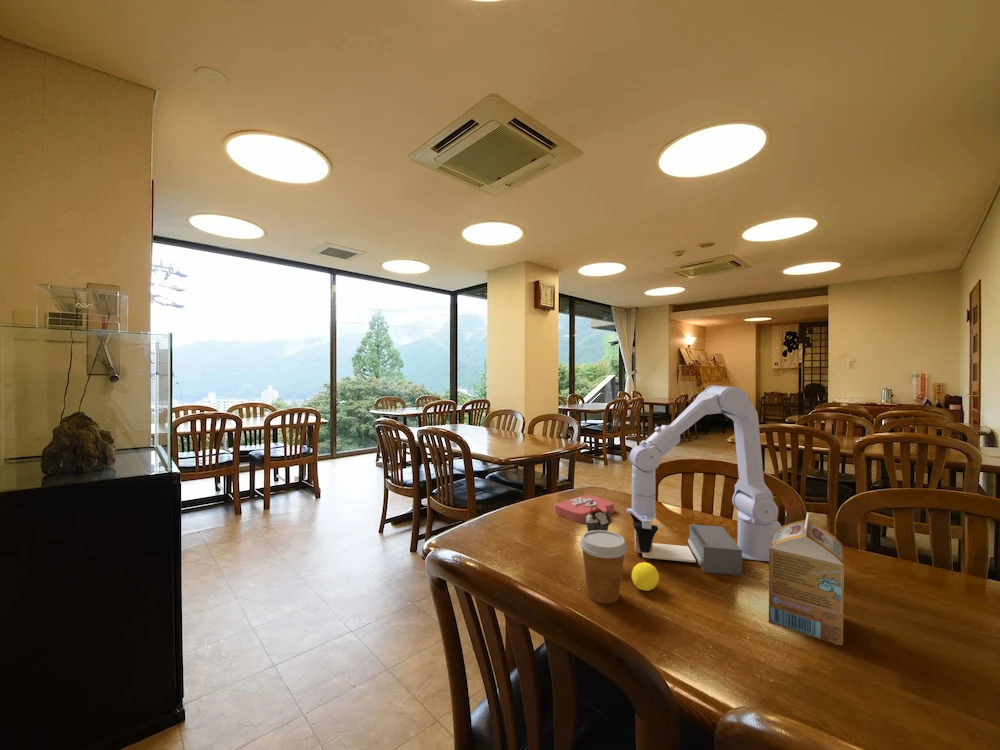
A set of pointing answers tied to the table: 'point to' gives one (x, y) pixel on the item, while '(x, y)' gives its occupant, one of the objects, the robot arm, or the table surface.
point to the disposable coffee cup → (603, 564)
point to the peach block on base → (666, 552)
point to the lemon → (645, 576)
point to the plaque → (582, 507)
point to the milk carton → (807, 581)
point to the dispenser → (715, 550)
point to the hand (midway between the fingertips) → (643, 546)
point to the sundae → (597, 520)
